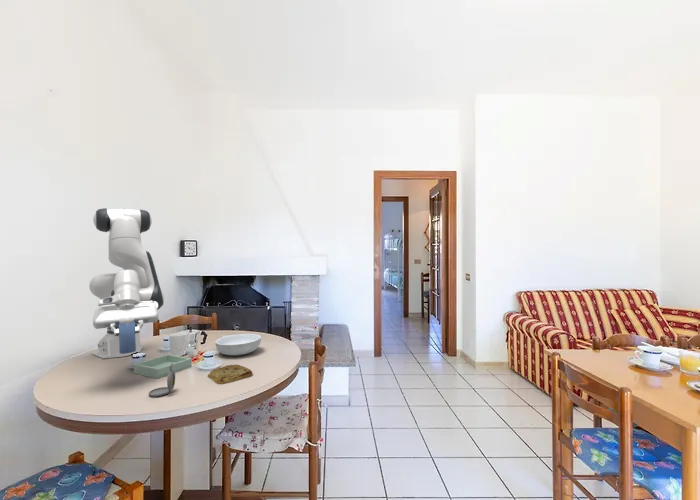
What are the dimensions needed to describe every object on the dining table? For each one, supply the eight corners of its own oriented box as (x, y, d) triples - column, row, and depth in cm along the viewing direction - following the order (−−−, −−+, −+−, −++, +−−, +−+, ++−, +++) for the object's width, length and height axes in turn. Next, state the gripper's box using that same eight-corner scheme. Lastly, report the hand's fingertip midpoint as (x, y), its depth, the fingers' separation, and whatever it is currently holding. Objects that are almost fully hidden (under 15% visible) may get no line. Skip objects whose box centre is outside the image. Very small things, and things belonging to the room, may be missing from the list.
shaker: (116, 352, 123) (115, 319, 123) (130, 348, 128) (129, 316, 128) (124, 354, 121) (123, 320, 121) (138, 350, 126) (137, 317, 126)
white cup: (180, 358, 159) (180, 336, 159) (165, 357, 160) (165, 335, 160) (191, 353, 166) (191, 332, 166) (177, 352, 168) (177, 331, 168)
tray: (133, 373, 139) (133, 364, 139) (168, 362, 152) (168, 354, 152) (158, 378, 132) (157, 369, 132) (191, 366, 146) (191, 358, 146)
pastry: (217, 369, 143) (217, 362, 143) (259, 369, 142) (259, 362, 142) (197, 385, 126) (197, 377, 126) (244, 385, 125) (244, 377, 125)
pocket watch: (146, 394, 117) (145, 364, 117) (172, 386, 124) (171, 358, 124) (154, 400, 112) (154, 369, 112) (181, 392, 118) (181, 363, 118)
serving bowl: (228, 346, 177) (228, 333, 177) (267, 347, 174) (267, 333, 174) (206, 359, 156) (206, 344, 156) (250, 360, 153) (250, 344, 153)
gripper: (157, 305, 140) (160, 334, 131) (95, 311, 129) (93, 343, 121) (158, 295, 136) (160, 324, 128) (93, 300, 125) (91, 332, 117)
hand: (127, 333), depth 124 cm, fingers closed on shaker, 5 cm apart
